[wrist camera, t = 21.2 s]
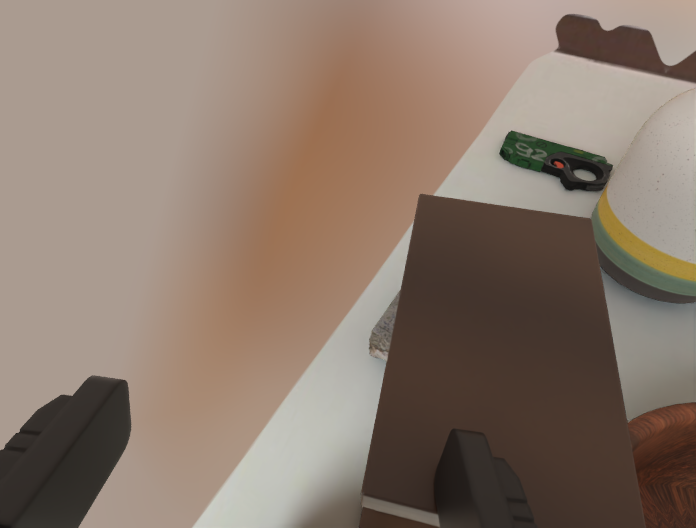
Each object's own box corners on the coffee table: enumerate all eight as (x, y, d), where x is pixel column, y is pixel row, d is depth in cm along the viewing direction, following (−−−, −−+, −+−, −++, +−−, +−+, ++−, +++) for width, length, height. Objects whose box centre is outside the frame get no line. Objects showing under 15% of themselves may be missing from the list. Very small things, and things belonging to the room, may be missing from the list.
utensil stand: (451, 609, 33) (678, 576, 10) (349, 580, 34) (342, 489, 11) (461, 450, 40) (605, 219, 17) (377, 430, 42) (408, 191, 19)
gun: (492, 159, 66) (511, 127, 72) (489, 167, 67) (508, 135, 73) (604, 194, 61) (615, 156, 66) (599, 202, 62) (611, 164, 68)
